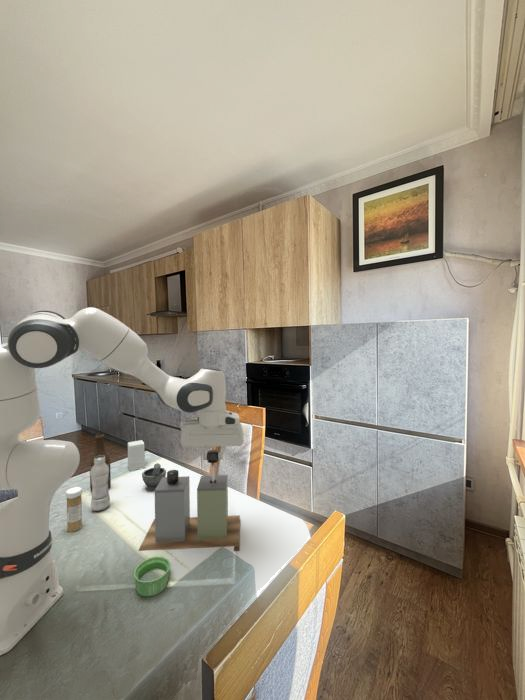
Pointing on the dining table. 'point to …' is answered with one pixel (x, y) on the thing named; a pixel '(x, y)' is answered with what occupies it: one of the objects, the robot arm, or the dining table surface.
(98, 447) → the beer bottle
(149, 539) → the walnut board
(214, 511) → the olive slotted block
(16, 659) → the dining table surface
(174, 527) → the grey block
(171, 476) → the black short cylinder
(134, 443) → the supplement box
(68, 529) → the sprinkles bottle
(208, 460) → the black plunger knob
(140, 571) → the ramekin
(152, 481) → the mortar and pestle
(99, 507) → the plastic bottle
